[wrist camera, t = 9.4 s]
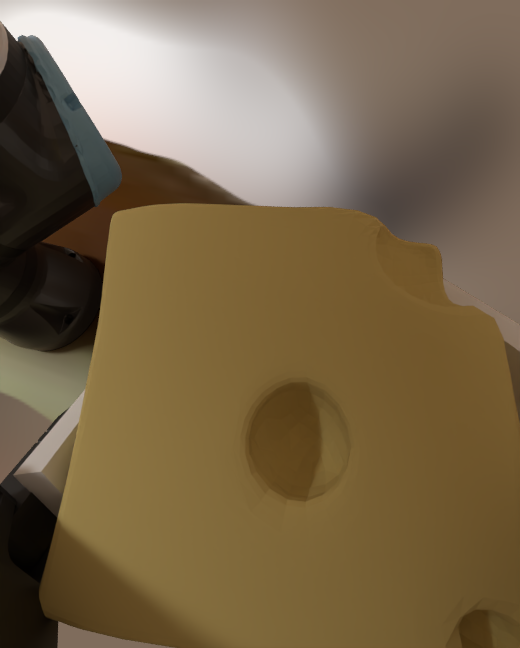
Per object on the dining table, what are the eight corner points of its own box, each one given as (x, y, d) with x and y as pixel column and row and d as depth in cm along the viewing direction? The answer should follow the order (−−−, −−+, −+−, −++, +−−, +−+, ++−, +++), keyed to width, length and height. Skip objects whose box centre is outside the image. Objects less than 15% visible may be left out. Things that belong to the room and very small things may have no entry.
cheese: (388, 310, 16) (504, 171, 6) (400, 530, 13) (637, 855, 4) (213, 308, 18) (105, 197, 8) (190, 499, 15) (-16, 662, 5)
